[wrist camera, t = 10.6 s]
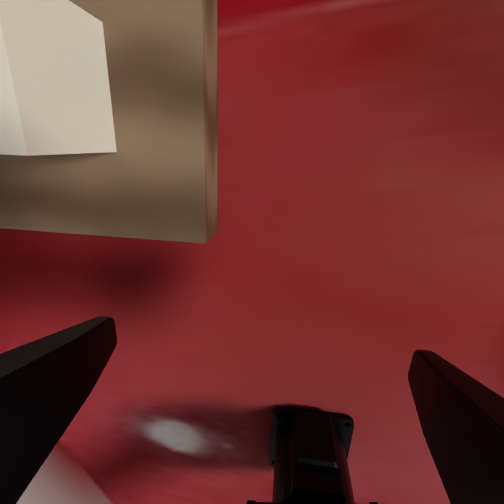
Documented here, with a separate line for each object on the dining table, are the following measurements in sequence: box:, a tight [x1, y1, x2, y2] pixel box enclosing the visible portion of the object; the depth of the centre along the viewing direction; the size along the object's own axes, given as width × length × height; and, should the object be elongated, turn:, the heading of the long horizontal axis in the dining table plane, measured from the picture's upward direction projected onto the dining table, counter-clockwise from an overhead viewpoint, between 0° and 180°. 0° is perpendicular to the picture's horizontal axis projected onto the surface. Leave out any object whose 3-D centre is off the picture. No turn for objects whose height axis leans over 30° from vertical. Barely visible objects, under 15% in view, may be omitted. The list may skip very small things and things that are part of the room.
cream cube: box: [0, 0, 117, 156], centre depth 13 cm, size 6×6×6 cm
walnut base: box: [0, 0, 218, 244], centre depth 17 cm, size 16×16×3 cm
